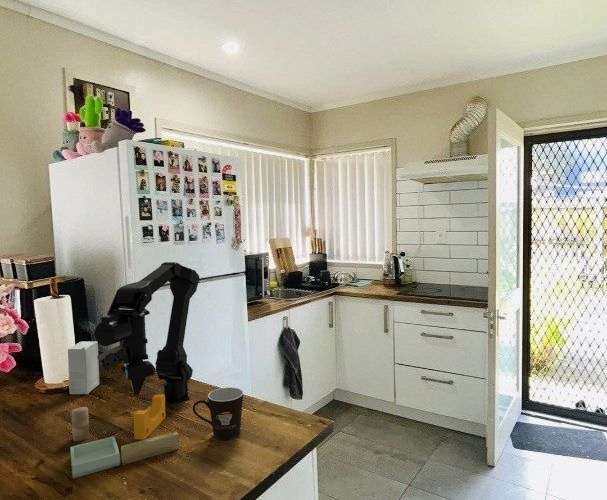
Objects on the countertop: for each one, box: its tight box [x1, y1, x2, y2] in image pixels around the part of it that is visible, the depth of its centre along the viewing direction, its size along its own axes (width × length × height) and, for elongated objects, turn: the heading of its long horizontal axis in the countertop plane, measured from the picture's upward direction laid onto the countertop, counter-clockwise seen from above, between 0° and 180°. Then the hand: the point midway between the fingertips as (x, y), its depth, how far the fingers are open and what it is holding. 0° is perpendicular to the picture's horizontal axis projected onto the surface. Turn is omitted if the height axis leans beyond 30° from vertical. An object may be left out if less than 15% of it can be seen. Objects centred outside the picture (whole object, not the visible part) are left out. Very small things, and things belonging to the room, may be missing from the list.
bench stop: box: [120, 431, 180, 466], centre depth 94 cm, size 12×2×4 cm, turn 121°
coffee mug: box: [192, 386, 244, 441], centre depth 103 cm, size 12×9×10 cm
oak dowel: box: [70, 406, 90, 442], centre depth 103 cm, size 4×4×7 cm
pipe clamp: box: [133, 393, 166, 441], centre depth 107 cm, size 12×4×6 cm, turn 175°
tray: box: [69, 435, 121, 479], centre depth 92 cm, size 9×9×3 cm
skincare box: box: [67, 340, 100, 395], centre depth 134 cm, size 8×6×15 cm
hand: (136, 394), depth 108 cm, fingers closed
